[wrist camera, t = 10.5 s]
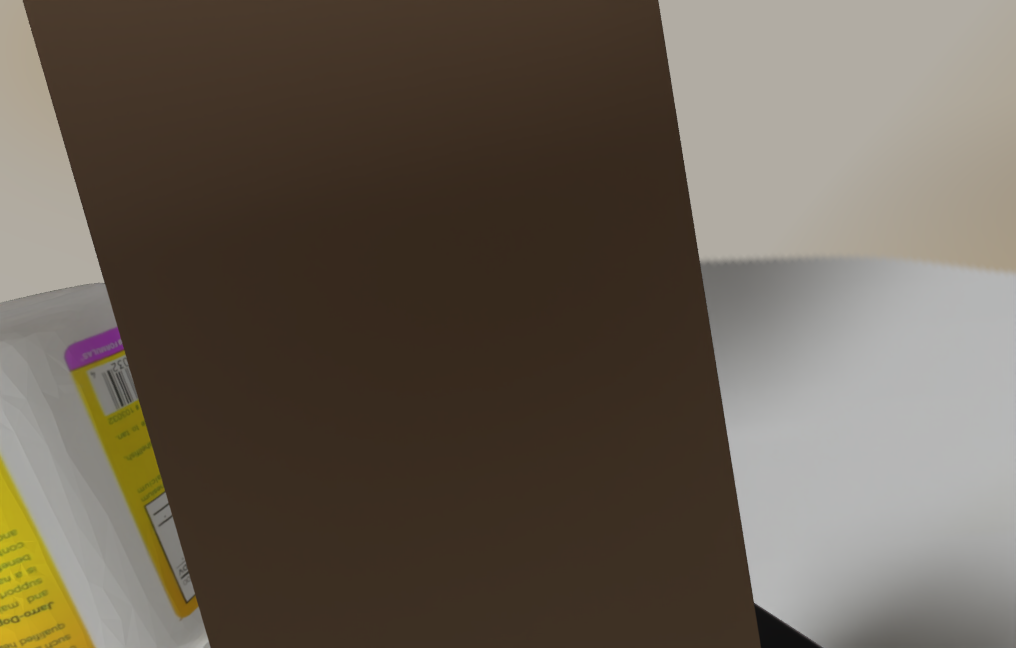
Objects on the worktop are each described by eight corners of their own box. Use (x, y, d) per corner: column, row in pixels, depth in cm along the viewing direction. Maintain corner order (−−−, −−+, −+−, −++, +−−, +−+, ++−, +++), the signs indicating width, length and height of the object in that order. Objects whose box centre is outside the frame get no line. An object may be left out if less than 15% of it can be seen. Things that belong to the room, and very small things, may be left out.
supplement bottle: (-241, 357, 13) (-4, 760, 16) (-252, 371, 9) (65, 903, 12) (85, 281, 18) (215, 601, 21) (171, 269, 14) (316, 665, 17)
